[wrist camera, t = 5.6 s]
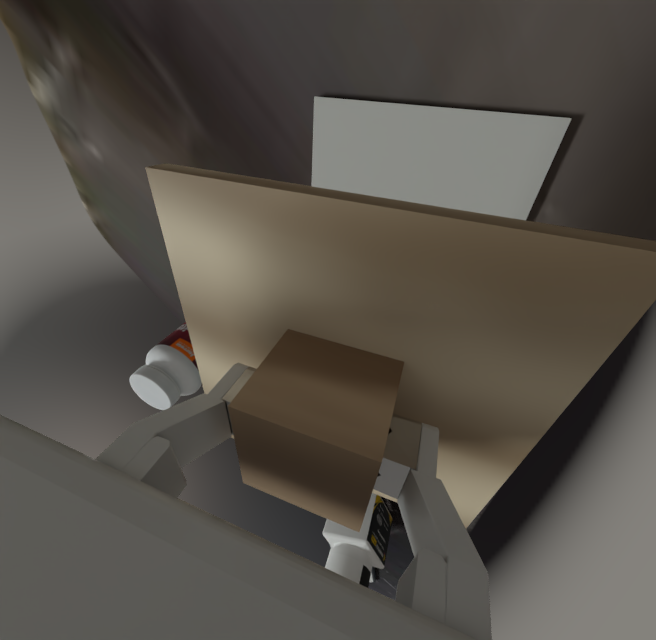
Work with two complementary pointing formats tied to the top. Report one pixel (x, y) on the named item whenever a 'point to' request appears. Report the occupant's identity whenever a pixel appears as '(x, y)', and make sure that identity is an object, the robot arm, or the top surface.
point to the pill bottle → (168, 371)
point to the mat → (434, 154)
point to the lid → (388, 328)
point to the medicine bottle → (360, 543)
